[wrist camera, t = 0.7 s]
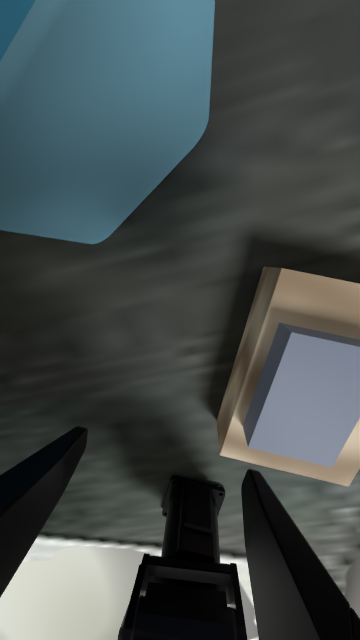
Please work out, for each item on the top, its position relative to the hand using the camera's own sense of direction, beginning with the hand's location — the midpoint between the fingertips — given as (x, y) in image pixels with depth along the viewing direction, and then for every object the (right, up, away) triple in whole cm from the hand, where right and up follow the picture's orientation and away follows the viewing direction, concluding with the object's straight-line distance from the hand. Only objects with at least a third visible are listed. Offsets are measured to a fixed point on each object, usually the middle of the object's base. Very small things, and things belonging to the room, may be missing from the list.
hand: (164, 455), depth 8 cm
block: (+9, 0, +7) cm, 12 cm away
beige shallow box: (+11, +1, +11) cm, 16 cm away
